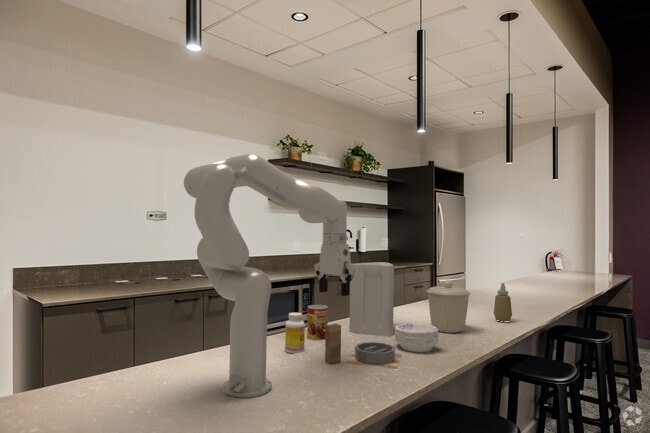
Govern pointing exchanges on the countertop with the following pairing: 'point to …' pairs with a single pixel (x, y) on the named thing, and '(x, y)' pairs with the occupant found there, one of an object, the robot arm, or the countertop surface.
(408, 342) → the paper bowls
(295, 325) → the supplement bottle
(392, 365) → the cork mat
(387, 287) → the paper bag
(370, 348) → the clip
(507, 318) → the squeeze bottle
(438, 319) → the canister
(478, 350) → the countertop surface
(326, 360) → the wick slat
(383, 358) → the round grey dish
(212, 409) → the countertop surface
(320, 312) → the canned food
